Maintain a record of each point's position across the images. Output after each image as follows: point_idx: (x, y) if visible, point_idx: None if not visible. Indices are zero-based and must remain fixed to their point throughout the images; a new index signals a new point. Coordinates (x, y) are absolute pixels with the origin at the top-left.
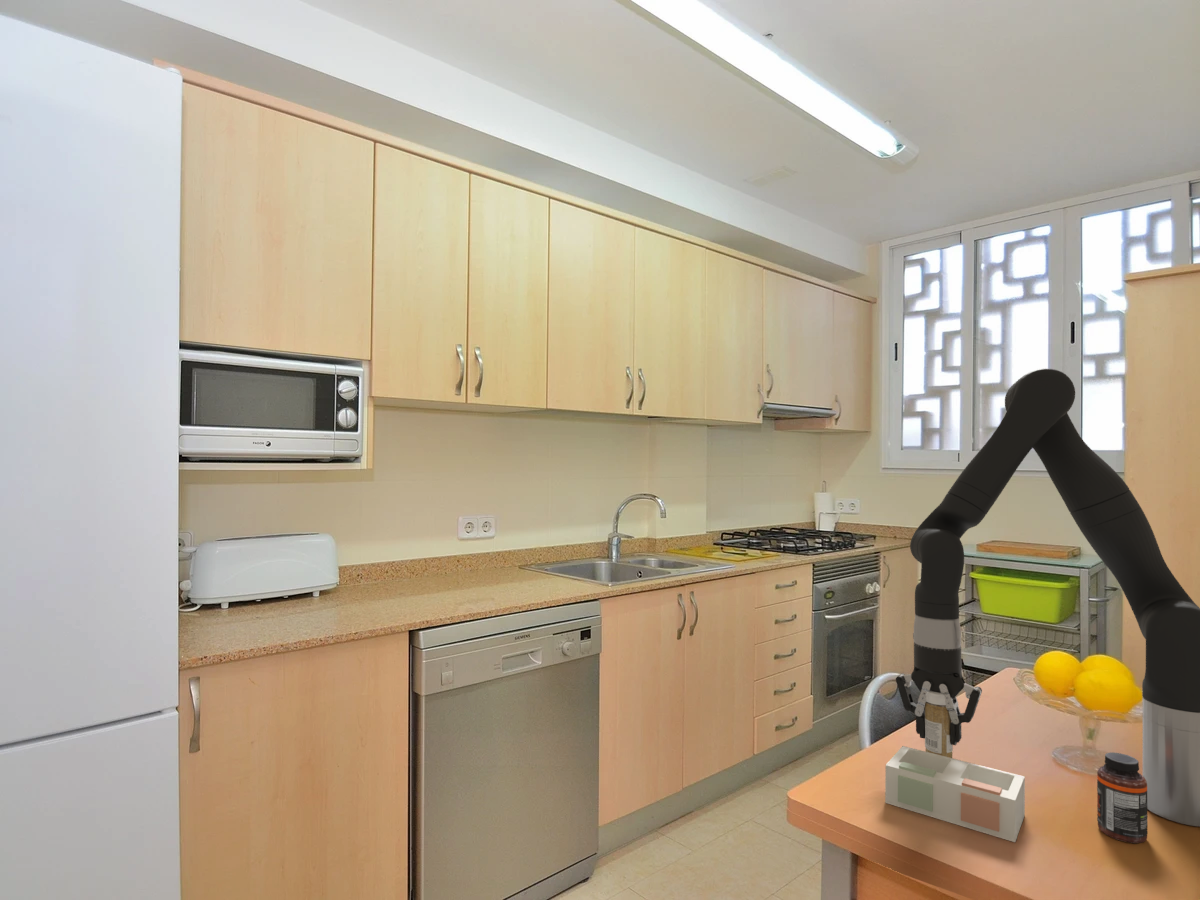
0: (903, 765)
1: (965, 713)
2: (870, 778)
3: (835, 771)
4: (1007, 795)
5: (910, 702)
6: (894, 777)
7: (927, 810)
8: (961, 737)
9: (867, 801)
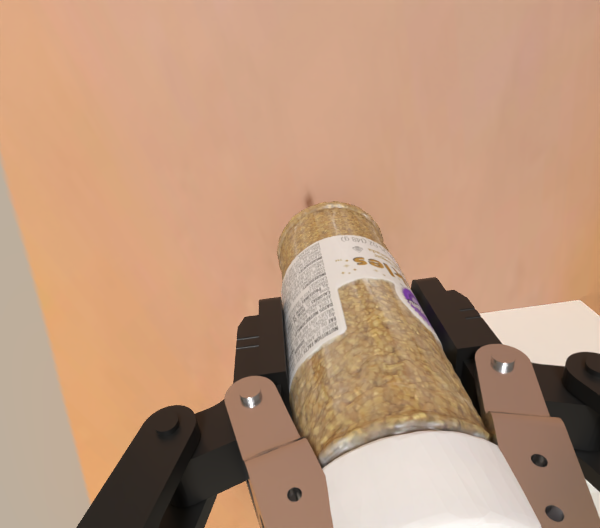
0: None
1: (592, 476)
2: (170, 391)
3: (74, 422)
4: (598, 511)
5: (200, 515)
6: None
7: None
8: (467, 299)
9: (237, 485)
